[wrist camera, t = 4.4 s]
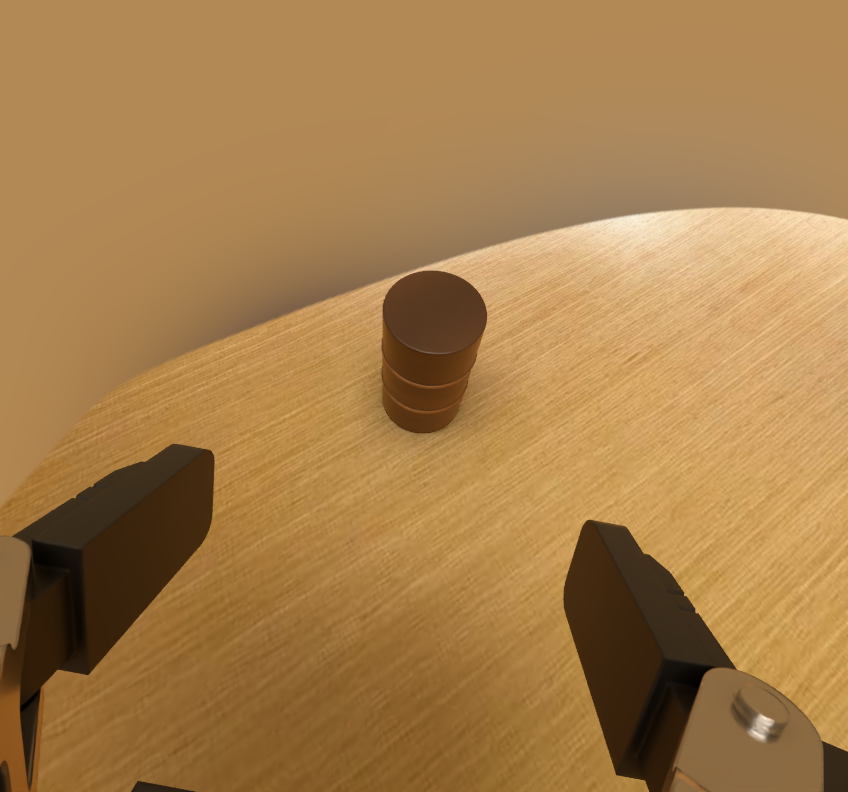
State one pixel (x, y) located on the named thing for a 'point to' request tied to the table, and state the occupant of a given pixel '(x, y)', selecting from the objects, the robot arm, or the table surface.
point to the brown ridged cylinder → (429, 347)
